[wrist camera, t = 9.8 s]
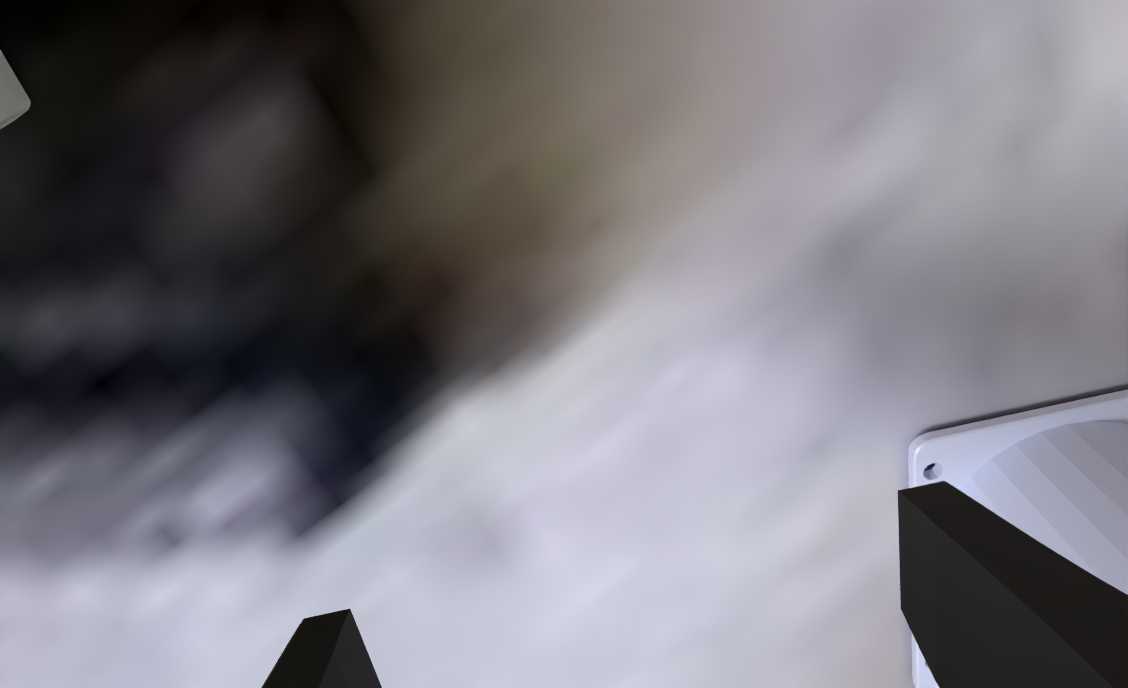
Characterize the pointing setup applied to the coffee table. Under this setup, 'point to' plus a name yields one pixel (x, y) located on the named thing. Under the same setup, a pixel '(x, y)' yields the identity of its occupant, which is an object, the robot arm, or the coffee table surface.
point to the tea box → (11, 95)
